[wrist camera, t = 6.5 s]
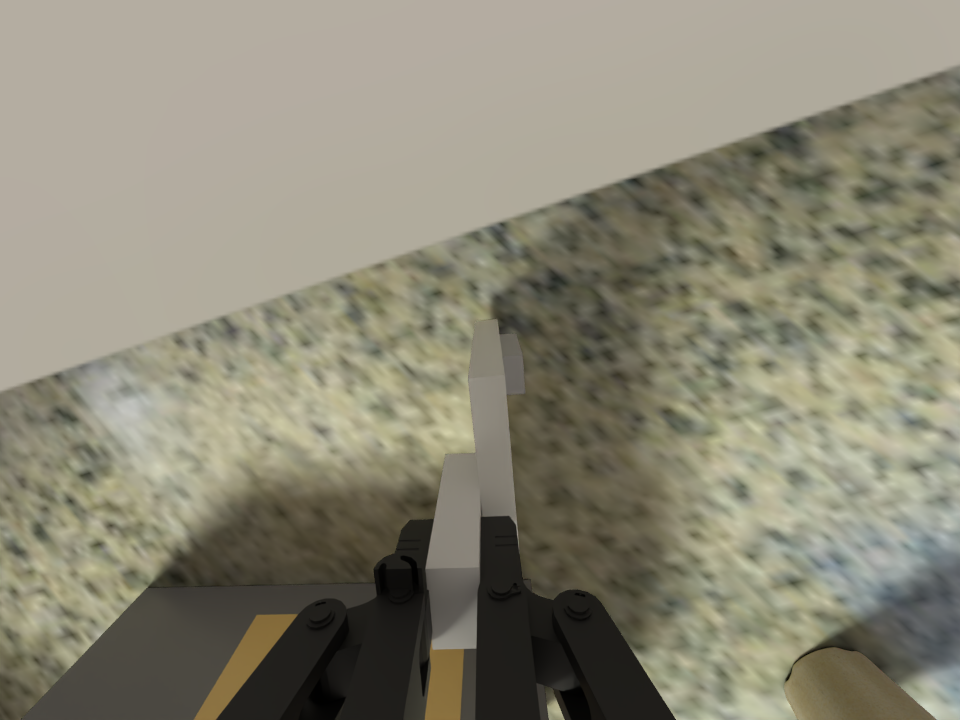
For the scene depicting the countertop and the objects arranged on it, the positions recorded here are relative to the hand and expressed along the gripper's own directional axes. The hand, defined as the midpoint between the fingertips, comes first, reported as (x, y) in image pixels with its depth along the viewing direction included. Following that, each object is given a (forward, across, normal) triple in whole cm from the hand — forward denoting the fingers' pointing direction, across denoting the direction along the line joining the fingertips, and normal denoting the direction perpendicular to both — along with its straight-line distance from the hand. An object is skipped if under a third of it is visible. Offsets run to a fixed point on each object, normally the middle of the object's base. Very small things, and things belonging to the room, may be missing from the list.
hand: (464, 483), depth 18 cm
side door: (+7, +2, -3) cm, 8 cm away
